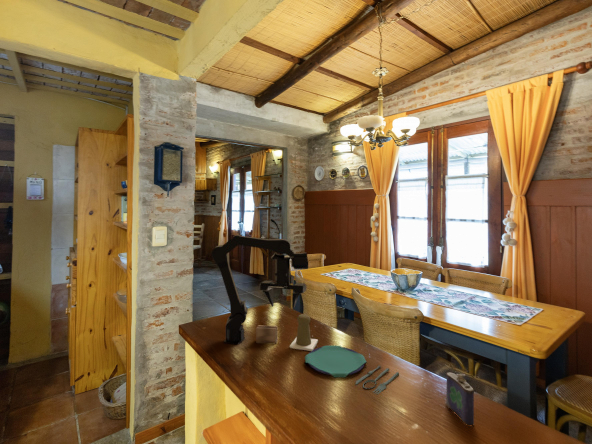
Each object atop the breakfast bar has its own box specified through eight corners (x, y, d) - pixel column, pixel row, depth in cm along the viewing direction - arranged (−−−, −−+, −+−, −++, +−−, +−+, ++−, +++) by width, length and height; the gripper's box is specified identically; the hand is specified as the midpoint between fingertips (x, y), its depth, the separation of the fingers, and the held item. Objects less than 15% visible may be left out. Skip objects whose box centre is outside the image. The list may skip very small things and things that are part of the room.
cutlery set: (330, 345, 121) (330, 340, 121) (403, 375, 100) (403, 368, 100) (294, 364, 107) (294, 357, 107) (371, 403, 86) (371, 395, 86)
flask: (443, 404, 85) (444, 365, 84) (453, 403, 85) (454, 364, 85) (467, 427, 75) (468, 384, 75) (477, 426, 76) (479, 383, 75)
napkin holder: (256, 342, 124) (256, 327, 123) (258, 339, 127) (258, 325, 126) (276, 343, 123) (276, 329, 122) (277, 340, 126) (277, 326, 125)
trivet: (289, 347, 119) (289, 345, 119) (296, 338, 128) (296, 336, 128) (312, 351, 116) (312, 349, 116) (317, 341, 125) (317, 339, 125)
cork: (313, 344, 120) (313, 316, 120) (298, 346, 118) (298, 318, 118) (308, 338, 126) (308, 311, 125) (294, 340, 124) (294, 313, 123)
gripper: (309, 267, 132) (309, 303, 132) (269, 265, 137) (269, 300, 138) (302, 272, 121) (302, 311, 122) (258, 269, 127) (259, 307, 127)
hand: (282, 307), depth 127 cm, fingers open, 9 cm apart
